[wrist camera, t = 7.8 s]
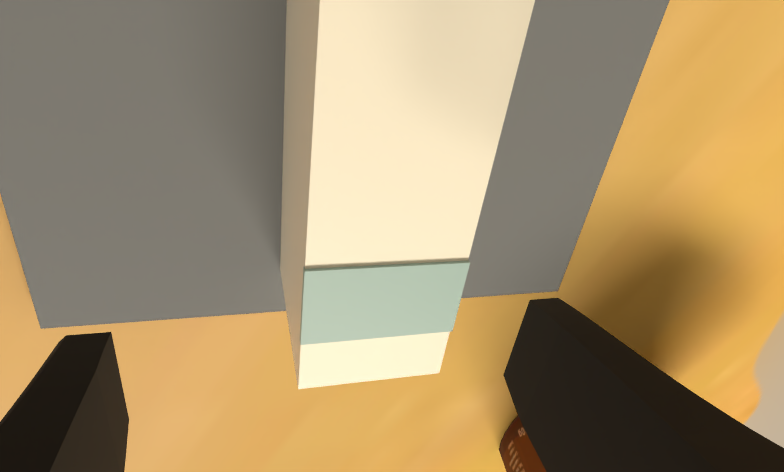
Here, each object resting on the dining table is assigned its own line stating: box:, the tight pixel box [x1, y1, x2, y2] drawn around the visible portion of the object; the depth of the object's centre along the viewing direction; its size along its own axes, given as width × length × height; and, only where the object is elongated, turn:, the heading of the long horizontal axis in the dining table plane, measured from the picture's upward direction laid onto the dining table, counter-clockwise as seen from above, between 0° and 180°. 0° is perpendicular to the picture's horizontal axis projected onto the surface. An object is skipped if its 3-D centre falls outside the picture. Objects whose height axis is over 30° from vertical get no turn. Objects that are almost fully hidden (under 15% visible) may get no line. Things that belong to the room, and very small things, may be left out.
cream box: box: [280, 0, 535, 389], centre depth 15 cm, size 4×11×6 cm, turn 172°
